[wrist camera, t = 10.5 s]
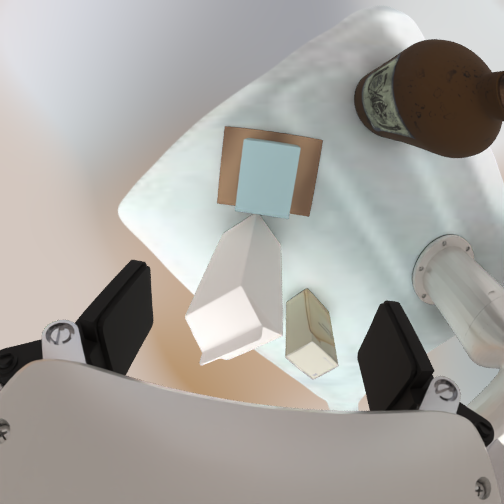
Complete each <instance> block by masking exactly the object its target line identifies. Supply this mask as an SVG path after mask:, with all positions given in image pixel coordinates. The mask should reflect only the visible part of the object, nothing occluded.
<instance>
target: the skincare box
mask: <svg viewBox="0 0 504 504" xmlns="http://www.w3.org/2000/svg"><path fill="white" fill-rule="evenodd" d="M285 358H286V359H287V360H289V361H290V362H291V363H292V364H293V365H295V366H296V367H297V368H298V369H299V370H301V371H302V372H303V373H304V374H306V375H307V376H308V377H310V378H311V379H312V380H314V379H316V378H318V377H320V376H322V375H324V374H326V373H327V372H329V371H331V370H333V369H335V368H336V367H338V361H337V355H336V349H335V343H334V337H333V332H332V326H331V321H330V315H329V312H328V310H327V309H326V308H325V307H324V306H323V305H322V304H321V302H320V301H319V300H318V299H317V298H316V297H315V296H314V295H313V294H312V293H311V292H310V291H309V290H308V289H305V290H304V291H302V292H301V293H299V294H298V295H296V296H295V297H293V298H292V299H290V300H289V301H287V302H286V353H285Z"/></svg>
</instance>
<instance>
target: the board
mask: <svg viewBox="0 0 504 504" xmlns="http://www.w3.org/2000/svg"><path fill="white" fill-rule="evenodd" d="M246 138H254V139H261V140H268V141H275V142H282V143H288V144H294V145H298V146H299V147H300V148H301V149H300V156H299V162H298V168H297V174H296V179H295V185H294V191H293V197H292V202H291V208H290V214H296V215H303V216H309V215H310V210H311V205H312V199H313V194H314V189H315V183H316V178H317V172H318V166H319V160H320V155H321V149H322V142H323V140H319V139H314V138H309V137H303V136H297V135H291V134H285V133H278V132H271V131H263V130H255V129H247V128H238V127H227V126H225V130H224V139H223V148H222V158H221V167H220V178H219V188H218V199H217V203H219V204H227V205H234V206H236V198H237V190H238V181H239V173H240V165H241V157H242V149H243V141H244V139H246Z"/></svg>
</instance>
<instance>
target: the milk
mask: <svg viewBox="0 0 504 504" xmlns="http://www.w3.org/2000/svg"><path fill="white" fill-rule="evenodd" d="M185 318H186V320H187V323H188V325H189V327H190V329H191V331H192V333H193V335H194V337H195V339H196V341H197V343H198V345H199V347H200V349H201V351H202V356H201V359H200V365H204V364H206V363H209V362H211V361H214V360H216V359H219V358H221V359H225V360H229V359H231V358H233V357H236V356H238V355H241V354H243V353H245V352H248V351H250V350H252V349H255V348H257V347H259V346H262V345H264V344H266V343H268V342H270V341H273V340H275V339H277V338H279V337H281V336H283V314H282V260H281V244H280V243H279V242H278V240H277V239H276V237H275V236H274V235H273V233H272V232H271V230H270V229H269V227H268V226H267V225H266V223H265V222H264V220H263V219H262V218H261V216H260V215H259V214H253V215H251V216H250V217H248V218H246V219H245V220H243V221H242V222H240V223H239V224H237V225H236V226H234V227H233V228H231V229H230V230H228V231H227V232H225V233H223V234H222V236H221V239H220V241H219V243H218V245H217V247H216V249H215V251H214V253H213V256H212V258H211V260H210V262H209V264H208V266H207V269H206V271H205V273H204V275H203V277H202V280H201V282H200V284H199V286H198V288H197V291H196V293H195V295H194V297H193V300H192V302H191V304H190V306H189V309H188V311H187V313H186V316H185Z"/></svg>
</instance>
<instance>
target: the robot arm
mask: <svg viewBox="0 0 504 504" xmlns="http://www.w3.org/2000/svg"><path fill="white" fill-rule="evenodd" d="M412 281H413V287H414V290H415V292H416V294H417V295H418V297H419V298H420V299H421V300H422V301H423V302H425V303H428V304H433V305H436V306H437V308H438V309H439V311H440V312H441V314H442V315H443V317H444V318H445V320H446V321H447V323H448V324H449V326H450V327H451V329H452V330H453V332H454V333H455V335H456V336H457V338H458V340H459V341H460V343H461V344H462V346H463V348H464V349H465V351H466V352H467V354H468V356H469V357H470V359H471V360H472V361H473V362H474V363H476V364H477V365H479V366H482V367H486V368H496V369H500V370H499V372H498V374H497V375H496V377H495V378H494V379H493V380H492V381H491V383H490V384H489V385H488V386H487V387H486V388H485V389H484V390H483V391H482V392H481V393H480V394H479V395H478V396H477V397H476V398H474V399H473V400H472V402H470V403H469V404H468V405H467V406H465V405H463V404H462V403H460V402H459V401H460V397H461V393H460V389H459V387H458V386H457V384H456V383H454V382H453V381H452V380H451V379H449V378H447V377H444V376H438V377H435V378H434V377H433V375H432V374H433V372H434V369H433V367H432V365H431V363H430V360H429V359H428V356H427V354H426V352H425V350H424V348H423V346H422V344H421V342H420V340H419V338H418V336H417V334H416V333H415V331H414V329H413V327H412V325H411V323H410V321H409V319H408V317H407V316H406V314H405V312H404V310H403V308H402V307H401V305H400V303H399V302H395V301H385V302H384V303H383V304H380V305H379V308H378V310H377V312H376V314H375V317H374V319H373V321H372V324H371V326H370V328H369V330H368V332H367V334H366V337H365V339H364V341H363V343H362V345H361V347H360V349H359V351H358V362H359V366H360V370H361V374H362V378H363V383H364V387H365V391H366V395H367V400H368V404H369V408H370V411H335V410H313V409H299V408H288V407H278V406H269V405H261V404H253V403H246V402H240V401H234V400H228V399H222V398H216V397H211V396H205V395H201V394H196V393H191V392H187V391H182V390H178V389H174V388H170V387H166V386H162V385H158V384H154V383H151V382H147V381H143V380H140V379H136V378H132V377H129V376H126V373H127V372H128V370H129V368H130V366H131V364H132V362H133V360H134V358H135V357H136V355H137V353H138V351H139V349H140V347H141V346H142V344H143V342H144V340H145V338H146V337H147V335H148V333H149V331H150V329H151V327H152V325H153V309H152V294H151V274H150V267H148V266H147V265H146V263H145V262H142V261H137V260H131V261H130V262H129V263H128V264H127V265H126V266H125V267H124V268H123V269H122V270H121V271H120V273H119V274H118V275H117V276H116V277H115V278H114V279H113V280H112V281H111V282H110V283H109V284H108V285H107V286H106V288H105V289H104V290H103V291H102V292H101V293H100V294H99V295H98V297H97V298H96V299H95V300H94V301H93V302H92V303H91V305H90V306H89V307H88V308H87V309H86V310H85V311H84V312H83V314H82V315H81V316H80V317H79V319H78V320H77V321H76V322H75V323H74V322H71V321H69V320H57V321H54V322H52V323H50V324H49V325H47V326H46V327H45V328H44V330H43V332H42V339H41V340H37V341H33V342H29V343H25V344H21V345H17V346H13V347H9V348H5V349H2V350H0V504H504V288H503V287H502V286H501V285H500V284H499V283H498V282H497V281H496V280H495V279H494V278H493V277H492V276H491V275H490V274H489V273H488V272H487V271H486V270H485V269H484V268H482V267H481V266H480V265H479V264H478V263H477V262H476V261H475V260H474V253H473V250H472V247H471V246H470V244H469V243H468V242H467V241H466V240H465V239H464V238H462V237H460V236H457V235H446V236H442V237H440V238H438V239H436V240H435V241H433V242H432V243H431V244H430V245H429V246H427V247H426V248H425V250H424V251H423V252H422V254H421V255H420V257H419V258H418V260H417V263H416V265H415V268H414V272H413V280H412Z"/></svg>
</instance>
